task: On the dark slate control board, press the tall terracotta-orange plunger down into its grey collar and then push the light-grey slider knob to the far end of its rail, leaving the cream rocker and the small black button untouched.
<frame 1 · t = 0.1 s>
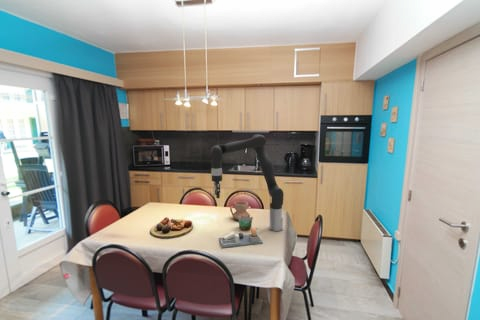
hand: (217, 196, 168), 29 cm above the table, fingers open, 8 cm apart
ceramic jug: (240, 218, 202), on the table
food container: (243, 229, 181), on the table
wooden plate with food: (172, 229, 182), on the table
panel: (240, 241, 162), on the table
grey slider knob: (236, 238, 158), point 4 cm above the table, slide at 0.0 cm
cream rocker: (229, 235, 163), point 4 cm above the table, hinge at 22.0°
orange plunger: (253, 232, 161), point 7 cm above the table, slide at 0.0 cm
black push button: (240, 235, 165), point 3 cm above the table, slide at 0.0 cm
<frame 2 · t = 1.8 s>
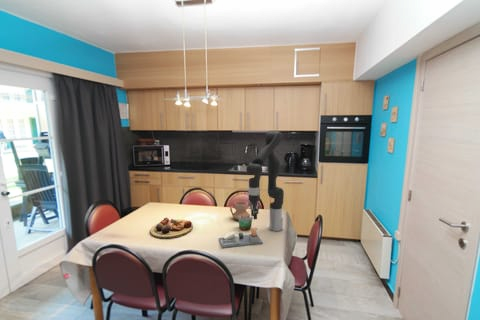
hand: (254, 217, 159), 17 cm above the table, fingers open, 5 cm apart
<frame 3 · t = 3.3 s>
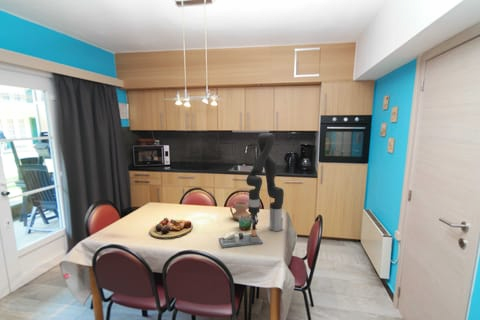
hand: (253, 229, 160), 9 cm above the table, fingers closed
orange plunger: (253, 232, 161), point 6 cm above the table, slide at -0.4 cm, touching gripper
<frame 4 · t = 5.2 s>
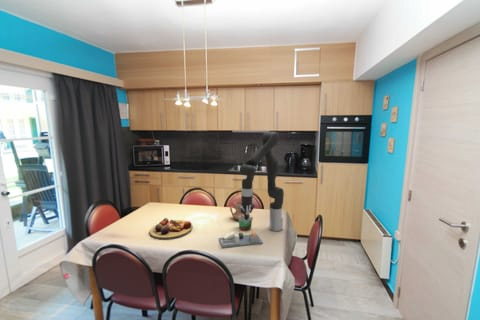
hand: (246, 219, 159), 16 cm above the table, fingers closed
orange plunger: (253, 236, 161), point 4 cm above the table, slide at -2.7 cm
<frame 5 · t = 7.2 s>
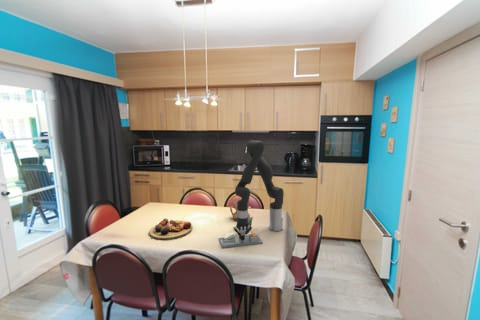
hand: (242, 240, 159), 2 cm above the table, fingers closed
grey slider knob: (236, 238, 158), point 4 cm above the table, slide at 0.1 cm, touching gripper
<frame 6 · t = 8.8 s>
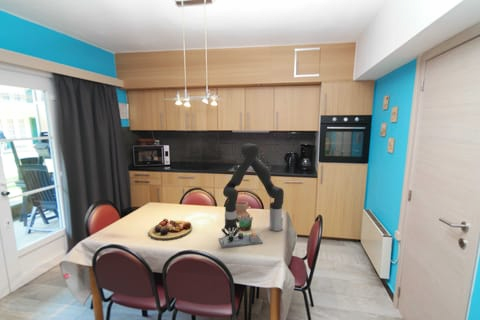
hand: (231, 241, 158), 2 cm above the table, fingers closed
grey slider knob: (225, 239, 157), point 4 cm above the table, slide at 8.1 cm, touching gripper
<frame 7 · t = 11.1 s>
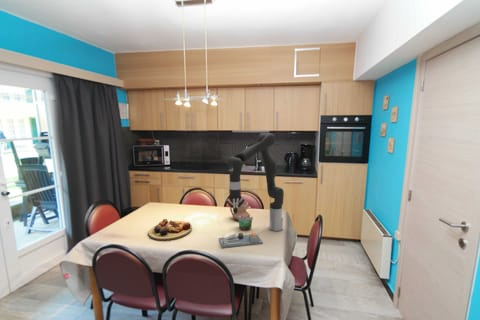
hand: (235, 213, 156), 22 cm above the table, fingers closed
grey slider knob: (225, 239, 157), point 4 cm above the table, slide at 8.1 cm
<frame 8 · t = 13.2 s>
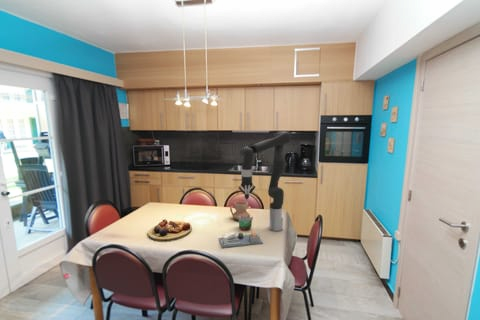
hand: (246, 198, 169), 27 cm above the table, fingers closed
at the end: orange plunger slide at -2.7 cm; grey slider knob slide at 8.1 cm; cream rocker at +22° (first picture: +22°) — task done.
